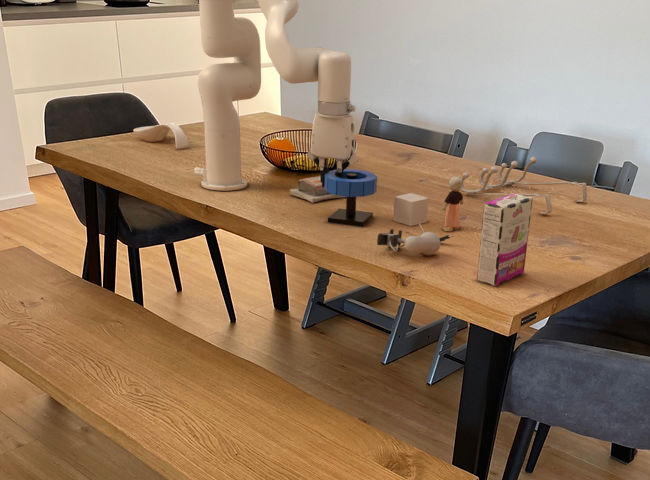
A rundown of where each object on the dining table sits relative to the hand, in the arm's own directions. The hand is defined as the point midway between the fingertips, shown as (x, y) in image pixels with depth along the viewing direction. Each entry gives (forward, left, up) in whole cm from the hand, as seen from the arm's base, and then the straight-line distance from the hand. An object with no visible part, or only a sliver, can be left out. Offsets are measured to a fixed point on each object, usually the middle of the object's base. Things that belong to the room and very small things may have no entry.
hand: (331, 186), depth 201 cm
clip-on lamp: (+26, -17, -8) cm, 32 cm away
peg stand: (+5, 0, -8) cm, 9 cm away
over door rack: (+43, +39, -8) cm, 59 cm away
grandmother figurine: (+30, +3, -8) cm, 31 cm away
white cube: (+19, +5, -8) cm, 21 cm away
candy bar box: (+46, -27, -8) cm, 54 cm away
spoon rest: (-79, +59, -8) cm, 99 cm away
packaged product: (-8, +20, -8) cm, 23 cm away
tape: (+5, 0, 0) cm, 5 cm away
